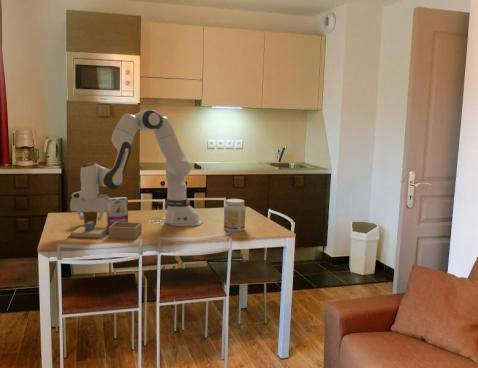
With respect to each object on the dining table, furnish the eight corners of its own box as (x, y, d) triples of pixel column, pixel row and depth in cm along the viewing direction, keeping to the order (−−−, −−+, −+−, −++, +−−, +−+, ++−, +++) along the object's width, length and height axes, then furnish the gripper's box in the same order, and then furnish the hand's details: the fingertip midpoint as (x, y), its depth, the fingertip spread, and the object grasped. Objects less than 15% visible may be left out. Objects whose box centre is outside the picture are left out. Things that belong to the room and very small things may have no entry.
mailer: (141, 233, 263) (141, 222, 262) (135, 239, 251) (135, 228, 250) (115, 232, 263) (115, 221, 262) (108, 238, 251) (108, 226, 250)
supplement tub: (237, 226, 287) (238, 197, 284) (249, 230, 277) (250, 201, 274) (219, 228, 280) (220, 199, 278) (230, 233, 270) (231, 203, 268)
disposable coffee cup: (102, 224, 279) (102, 204, 277) (87, 227, 272) (87, 206, 270) (93, 221, 285) (93, 201, 284) (78, 224, 278) (78, 203, 277)
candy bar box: (125, 224, 281) (125, 196, 278) (128, 226, 277) (128, 198, 274) (106, 226, 276) (105, 197, 273) (108, 228, 271) (108, 199, 269)
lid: (108, 231, 264) (108, 220, 263) (100, 237, 251) (100, 226, 250) (80, 230, 265) (80, 219, 264) (70, 236, 251) (70, 225, 250)
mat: (111, 231, 265) (111, 230, 265) (101, 239, 250) (101, 238, 249) (78, 229, 266) (78, 229, 266) (67, 237, 250) (67, 236, 250)
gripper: (111, 193, 257) (112, 219, 259) (73, 192, 258) (73, 217, 260) (107, 195, 251) (108, 221, 253) (68, 194, 252) (69, 220, 254)
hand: (90, 219), depth 257 cm, fingers open, 8 cm apart
